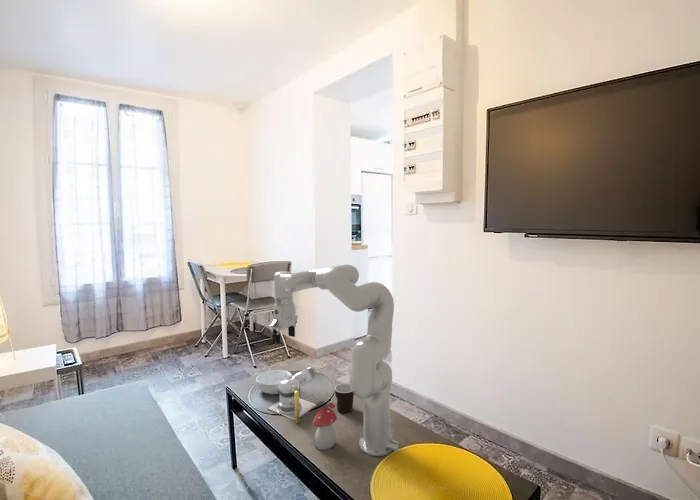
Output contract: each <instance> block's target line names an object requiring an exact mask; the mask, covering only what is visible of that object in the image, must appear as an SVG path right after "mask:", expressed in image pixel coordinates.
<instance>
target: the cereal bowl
mask: <svg viewBox="0 0 700 500" xmlns="http://www.w3.org/2000/svg"><path fill="white" fill-rule="evenodd" d="M289 375H292V373H291V372H290V371H287V370H284V369H273V370H267V371H264V372H262V373H259V374H258V375H257V376H256V378H255V381H256V383H255V384H256V387H257V388H258V390H259V391H260V392H262V393H264V394H268V393H269V394H268V395H277V394H276V393H278V380H279V379H280V378H281V377H283V376H289Z"/></svg>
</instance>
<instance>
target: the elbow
mask: <svg viewBox="0 0 700 500" xmlns="http://www.w3.org/2000/svg"><path fill="white" fill-rule="evenodd" d="M316 373H317V372H316V370H315V368H314V366H307V367H306V368H304V369H302V370H301V371H299V372H297V373H295V374H294V375H293V374H291V375H289V376H283V377H281V378H280V379H279V380H278V394H277V395H279V396H280V395H281V396H294V391H295V390H298V391H299V393H301V388H300V386H302V385H303V384H305V383H306V382H308V381H310V380H313V379H314V378H315V377H316Z"/></svg>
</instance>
